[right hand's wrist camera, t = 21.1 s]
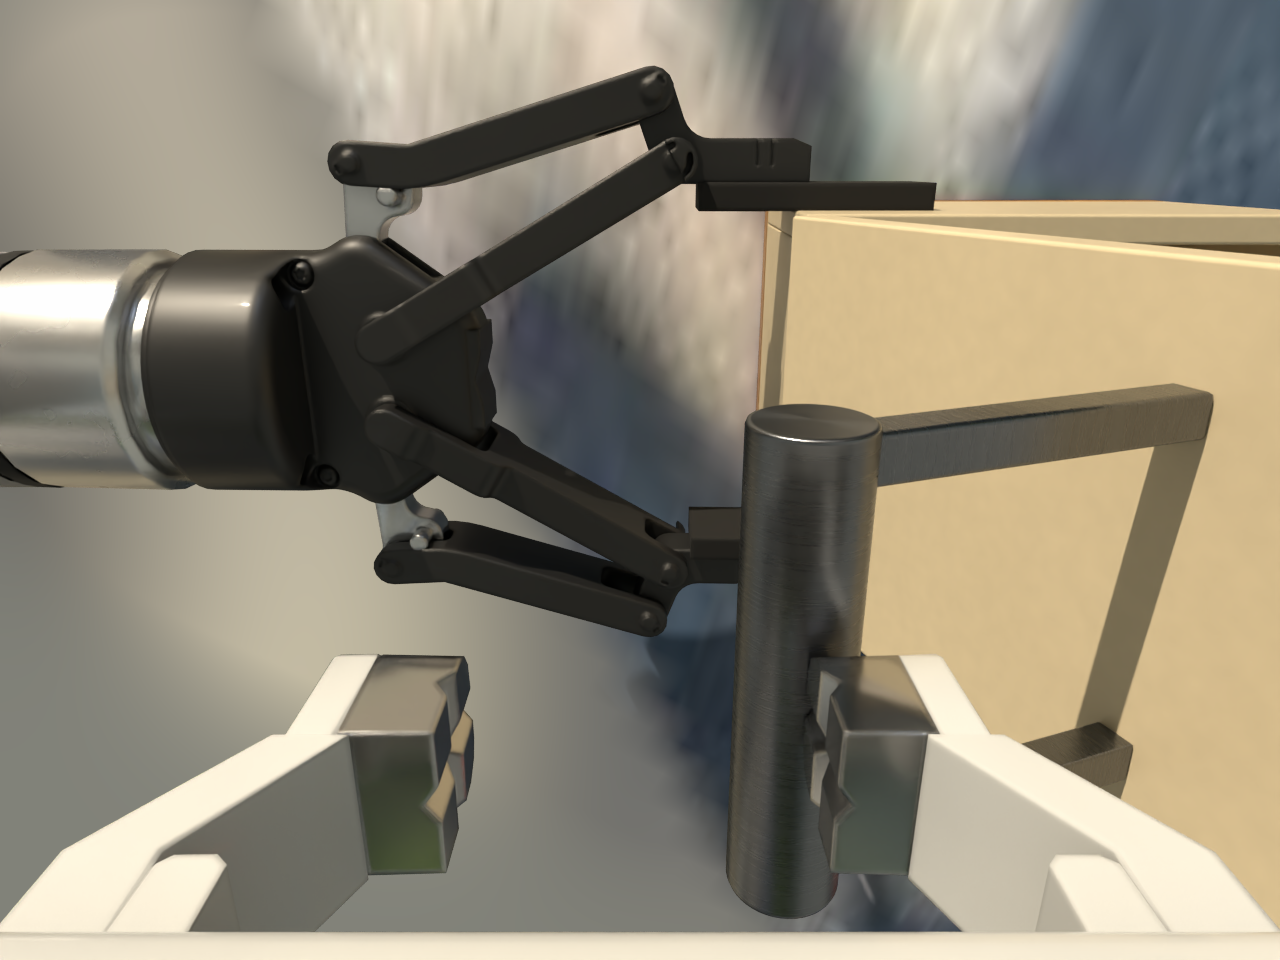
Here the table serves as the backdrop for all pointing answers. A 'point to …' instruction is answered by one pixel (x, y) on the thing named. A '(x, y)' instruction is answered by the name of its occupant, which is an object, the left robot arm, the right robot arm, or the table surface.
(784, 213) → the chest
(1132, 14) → the table surface
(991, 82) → the table surface
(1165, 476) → the lid
